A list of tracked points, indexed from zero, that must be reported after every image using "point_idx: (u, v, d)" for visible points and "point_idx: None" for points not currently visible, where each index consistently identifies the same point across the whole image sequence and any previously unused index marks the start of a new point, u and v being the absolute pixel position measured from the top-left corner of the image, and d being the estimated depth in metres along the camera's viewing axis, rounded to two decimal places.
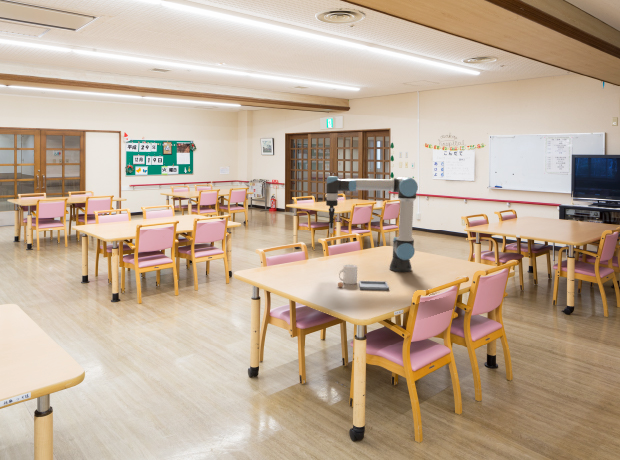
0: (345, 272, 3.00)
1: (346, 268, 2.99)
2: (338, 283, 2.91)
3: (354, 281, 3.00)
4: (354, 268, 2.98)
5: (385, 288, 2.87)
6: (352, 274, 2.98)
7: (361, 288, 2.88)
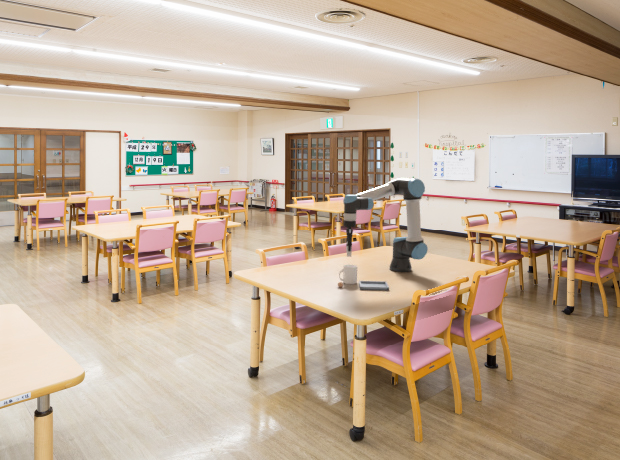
0: (345, 272, 3.00)
1: (346, 268, 2.99)
2: (338, 283, 2.91)
3: (354, 281, 3.00)
4: (354, 268, 2.98)
5: (385, 288, 2.87)
6: (352, 274, 2.98)
7: (361, 288, 2.88)
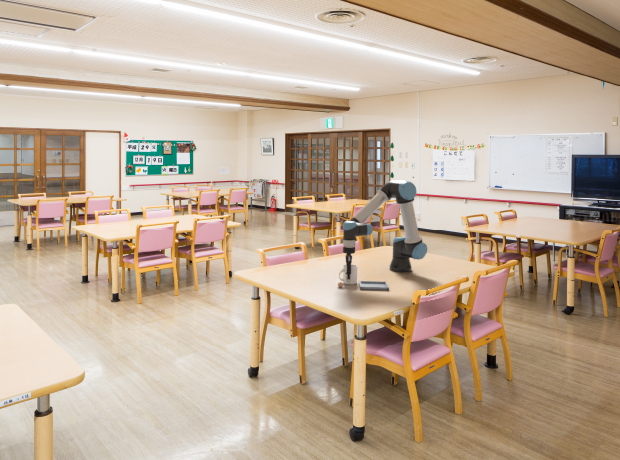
0: (345, 272, 2.99)
1: (346, 268, 2.98)
2: (338, 283, 2.91)
3: (354, 281, 2.99)
4: (354, 268, 2.98)
5: (385, 288, 2.87)
6: (352, 274, 2.98)
7: (361, 288, 2.88)
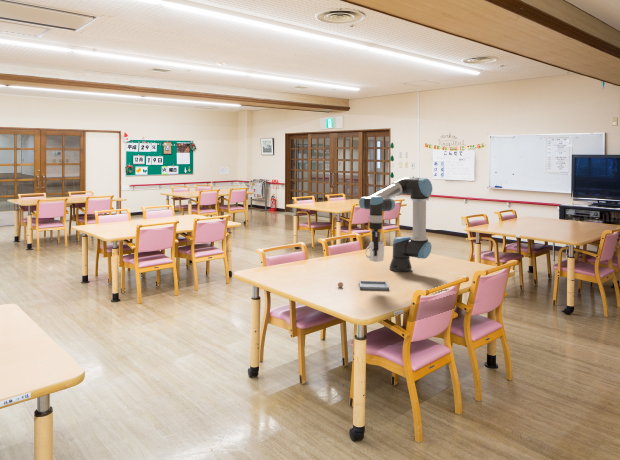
0: None
1: (373, 245, 2.87)
2: (338, 283, 2.91)
3: (381, 258, 2.88)
4: (381, 245, 2.87)
5: (385, 288, 2.87)
6: (379, 251, 2.87)
7: (361, 288, 2.88)
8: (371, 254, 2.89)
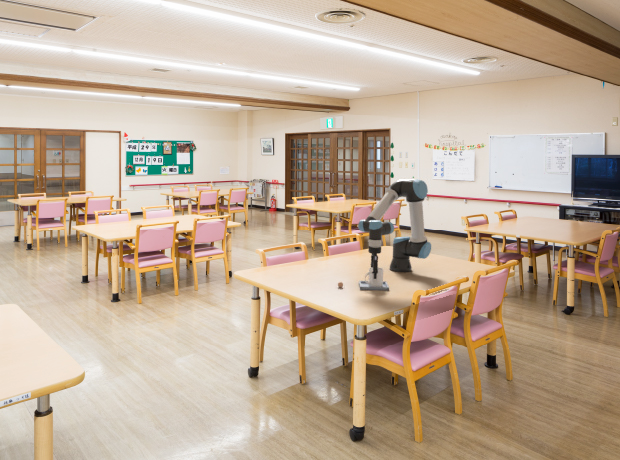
0: (371, 275, 2.90)
1: (372, 271, 2.89)
2: (338, 283, 2.91)
3: (380, 284, 2.91)
4: (380, 271, 2.89)
5: (385, 288, 2.87)
6: (378, 277, 2.89)
7: (361, 288, 2.88)
8: (370, 280, 2.91)
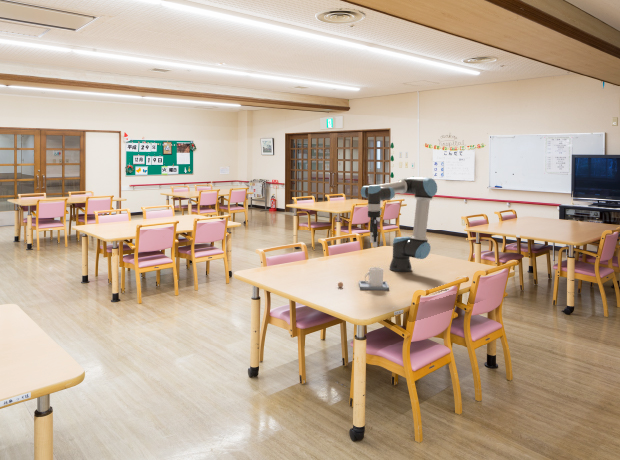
0: (371, 275, 2.90)
1: (372, 271, 2.89)
2: (338, 283, 2.91)
3: (380, 284, 2.91)
4: (380, 271, 2.89)
5: (385, 288, 2.87)
6: (378, 277, 2.89)
7: (361, 288, 2.88)
8: (370, 280, 2.91)
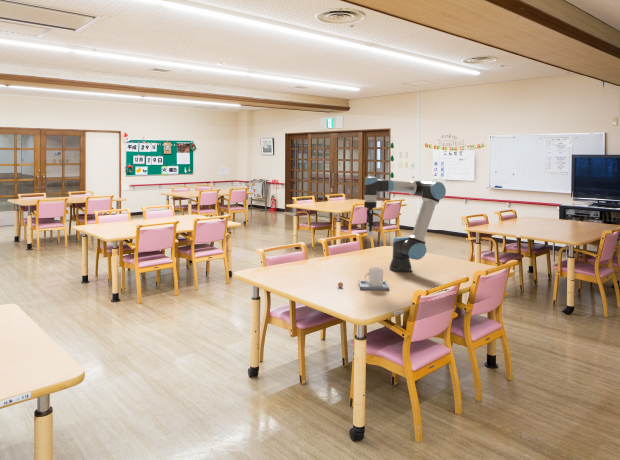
0: (371, 275, 2.90)
1: (372, 271, 2.89)
2: (338, 283, 2.91)
3: (380, 284, 2.91)
4: (380, 271, 2.89)
5: (385, 288, 2.87)
6: (378, 277, 2.89)
7: (361, 288, 2.88)
8: (370, 280, 2.91)
